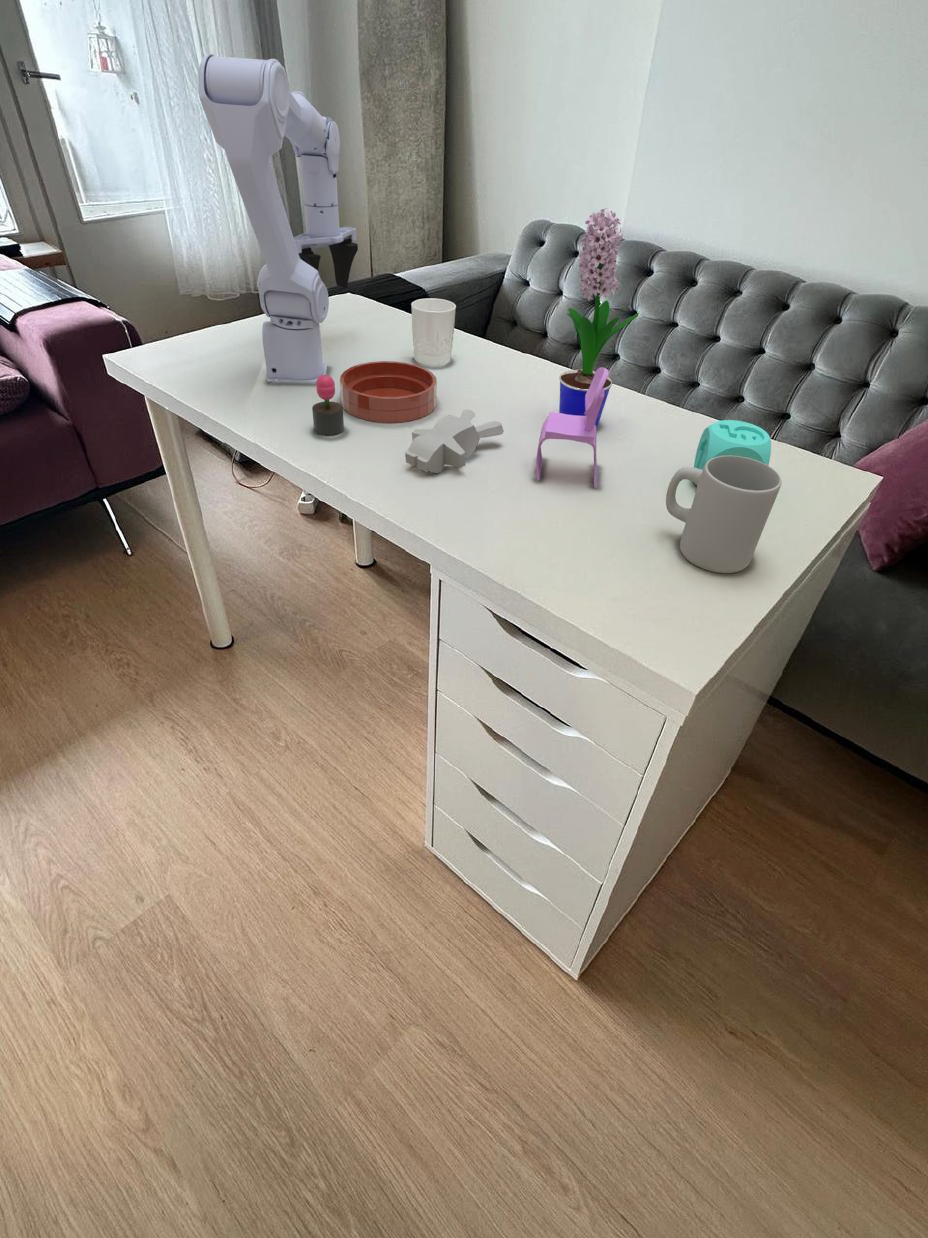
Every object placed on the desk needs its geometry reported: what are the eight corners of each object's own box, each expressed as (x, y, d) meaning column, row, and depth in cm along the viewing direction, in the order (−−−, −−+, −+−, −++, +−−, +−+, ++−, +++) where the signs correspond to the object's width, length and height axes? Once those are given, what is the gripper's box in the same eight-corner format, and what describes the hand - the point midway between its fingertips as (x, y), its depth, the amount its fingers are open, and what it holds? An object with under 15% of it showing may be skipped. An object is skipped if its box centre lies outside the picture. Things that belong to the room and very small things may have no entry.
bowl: (339, 425, 103) (337, 397, 100) (344, 386, 114) (342, 359, 111) (438, 427, 104) (439, 399, 102) (433, 388, 116) (434, 361, 113)
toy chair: (537, 456, 99) (551, 353, 89) (597, 463, 98) (618, 360, 88) (532, 483, 93) (547, 376, 83) (596, 492, 92) (618, 384, 82)
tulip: (313, 439, 99) (307, 381, 93) (315, 426, 103) (310, 369, 97) (343, 439, 100) (339, 381, 94) (345, 426, 103) (341, 369, 97)
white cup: (452, 370, 122) (455, 313, 116) (409, 368, 122) (409, 310, 116) (454, 355, 128) (456, 299, 122) (413, 352, 128) (413, 296, 122)
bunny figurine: (389, 435, 93) (461, 393, 100) (393, 467, 96) (462, 424, 104) (440, 459, 88) (511, 413, 96) (442, 491, 92) (510, 445, 99)
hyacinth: (613, 440, 104) (661, 219, 84) (548, 431, 105) (579, 211, 86) (615, 417, 111) (659, 207, 91) (553, 409, 112) (584, 199, 92)
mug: (760, 551, 83) (793, 471, 76) (734, 583, 78) (767, 500, 70) (670, 515, 88) (693, 438, 81) (641, 543, 83) (663, 462, 76)
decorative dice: (690, 468, 99) (706, 416, 93) (746, 475, 98) (765, 423, 93) (695, 495, 93) (712, 441, 87) (755, 503, 92) (775, 449, 87)
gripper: (306, 213, 107) (314, 303, 116) (367, 202, 116) (370, 286, 125) (275, 206, 110) (285, 294, 119) (337, 196, 119) (342, 279, 128)
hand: (327, 290), depth 122 cm, fingers open, 7 cm apart
